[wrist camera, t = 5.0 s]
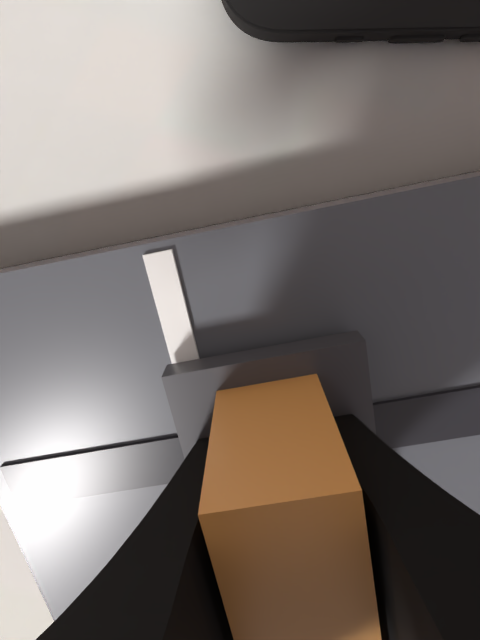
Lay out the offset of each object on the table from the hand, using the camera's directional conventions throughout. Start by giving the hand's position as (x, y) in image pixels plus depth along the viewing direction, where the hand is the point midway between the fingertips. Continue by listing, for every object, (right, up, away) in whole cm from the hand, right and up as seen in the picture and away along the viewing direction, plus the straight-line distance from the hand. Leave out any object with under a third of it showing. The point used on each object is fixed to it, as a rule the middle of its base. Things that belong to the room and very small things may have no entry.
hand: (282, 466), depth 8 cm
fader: (0, 0, +1) cm, 1 cm away
